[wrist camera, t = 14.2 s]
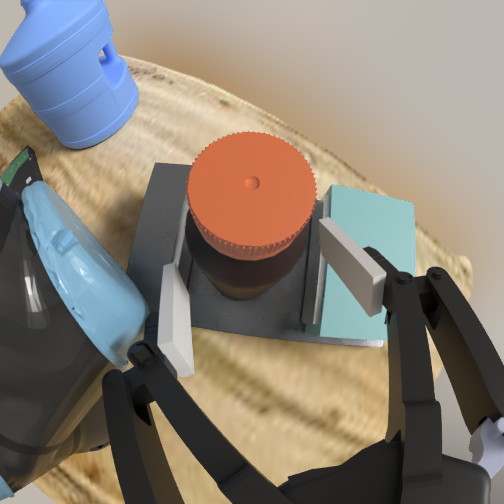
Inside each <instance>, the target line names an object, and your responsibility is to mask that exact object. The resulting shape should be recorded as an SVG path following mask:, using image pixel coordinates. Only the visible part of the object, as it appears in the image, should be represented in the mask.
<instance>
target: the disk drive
mask: <svg viewBox="0 0 504 504" xmlns="http://www.w3.org/2000/svg"><path fill="white" fill-rule="evenodd" d="M0 179H1V180H2V181H3V182H4V183H5V184H7V185H8V186H9V187H10V188H11V189H12V190H13V191H14V192H15V193H16V194H18V195H20V196H22V191H23V190H24V189H25V187H27V186H30V185H32V184H33V183H34V182H36V181H43V178H42V175H41V172H40V169H39V166H38V163H37V158H36V156H35V152H34V150H33V149H31V147H29V146H28V145H27V146H26V147H25V148H24V149H23V150H22V151H21V152H20V153H19V154H18V155H17V156H16V158H15V159H14V160H12V162H11V163H10V164H9V166H8V167H7V169H5V171H4V172H3V173H2V174H1V176H0Z"/></svg>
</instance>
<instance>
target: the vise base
mask: <svg viewBox="0 0 504 504" xmlns="http://www.w3.org/2000/svg"><path fill="white" fill-rule="evenodd" d="M190 167H193V165H182V164H168V163H155V165H154V168H153V171H152V174H151V178H150V181H149V184H148V187H147V191H146V194H145V198H144V201H143V205H142V209H141V212H140V216H139V220H138V224H137V228H136V232H135V236H134V240H133V245H132V249H131V254H130V258H129V263H128V268H127V273H126V274H127V276H128V277H129V278H130V279H131V281H132V282H133V283H134V285H135V286H136V287H137V289H138V290H139V291H140V293H141V294H142V296H143V297H144V299H145V301H146V303H147V305H148V308H149V311H150V313H154V312H158V311H159V310H160V298H161V286H162V276H163V267H164V265H167V264H170V263H174V262H175V264H176V266H177V269H178V271H179V273H180V275H181V278H182V280H183V282H184V284H185V287H186V289H187V291H188V293H189V301H190V320H191V326H194V327H199V328H205V329H211V330H217V331H223V332H229V333H236V334H243V335H250V336H257V337H265V338H273V339H282V340H291V341H301V342H312V343H325V344H339V345H356V346H382V345H383V340H367V339H349V338H335V337H322V336H317V335H313V334H309V333H305V326H306V323H301V321H302V313H303V305H304V297H305V288H306V279H307V269H308V259H309V249H310V237H311V225H312V215H311V217H310V219H309V221H308V240H307V243H306V246H305V249H304V252H303V255H302V258H301V259H300V261H299V262H298V263H297V265H296V266H295V267H294V269H293V270H292V271H291V272H290V274H288V275H287V276H286V277H284V278H283V279H282V280H280V281H279V282H278V283H276V284H275V285H274V286H272V287H271V288H270V289H268V290H267V291H266V292H264V293H263V294H261V295H260V296H258V297H257V298H254V299H251V300H247V301H237V300H233V299H230V298H228V297H225V296H224V295H223V294H221V293H220V292H219V291H218V290H217V289H216V288H215V287H214V286H213V284H212V283H211V282H210V281H209V280H208V279H207V277H206V276H205V275H204V274H203V273H202V271H201V270H200V269H199V268H198V266H197V264H196V263H195V261H194V259H193V258H192V256H191V254H190V253H189V250H188V246H187V241H186V237H185V224H186V215H187V212H188V210H189V206H188V204H187V202H188V201H187V199H186V197H187V195H186V193H185V192H187V190H186V188H185V187H186V186H187V184H186V182H187V181H188V179H187V177H188V176H189V173H188V172H190V171H191V169H190ZM319 202H320V201H319V200H316V201H315V203H316V205H315V206H314V207H313V208H316V207H317V205H318V203H319ZM314 210H315V209H314ZM314 210H313V211H314ZM312 213H313V212H312Z"/></svg>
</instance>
